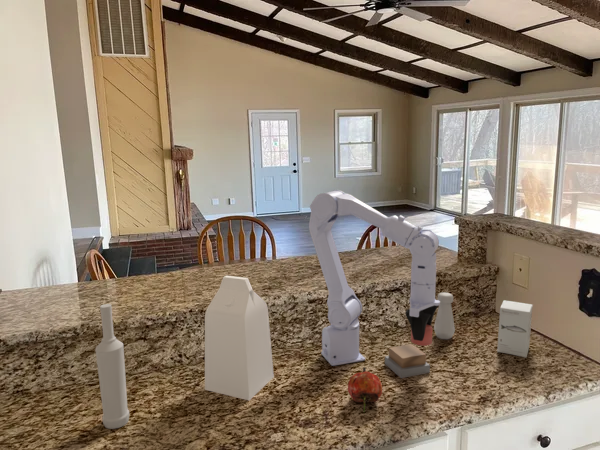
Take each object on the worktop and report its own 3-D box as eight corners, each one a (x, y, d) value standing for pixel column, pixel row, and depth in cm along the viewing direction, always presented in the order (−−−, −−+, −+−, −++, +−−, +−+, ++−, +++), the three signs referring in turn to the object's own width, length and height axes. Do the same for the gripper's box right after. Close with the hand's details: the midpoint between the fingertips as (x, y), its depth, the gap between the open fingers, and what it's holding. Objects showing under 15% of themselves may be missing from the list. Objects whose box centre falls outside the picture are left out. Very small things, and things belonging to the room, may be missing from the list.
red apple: (383, 420, 96) (387, 376, 103) (377, 406, 92) (381, 360, 98) (349, 418, 99) (354, 374, 106) (341, 403, 94) (347, 359, 101)
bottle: (107, 415, 96) (96, 302, 92) (132, 413, 97) (123, 300, 93) (99, 430, 91) (87, 310, 87) (125, 428, 92) (115, 309, 88)
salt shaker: (455, 341, 129) (457, 297, 127) (434, 340, 131) (435, 296, 128) (453, 333, 135) (454, 291, 133) (432, 332, 136) (434, 290, 134)
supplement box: (496, 352, 122) (498, 307, 120) (500, 342, 128) (503, 299, 126) (527, 358, 118) (530, 311, 116) (530, 347, 125) (533, 303, 122)
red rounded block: (418, 346, 108) (418, 332, 108) (406, 338, 113) (407, 324, 112) (436, 343, 110) (436, 329, 109) (424, 335, 114) (424, 322, 114)
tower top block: (402, 368, 110) (402, 358, 110) (388, 357, 116) (389, 347, 116) (425, 363, 112) (425, 354, 112) (411, 353, 118) (411, 343, 118)
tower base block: (400, 380, 110) (401, 370, 109) (384, 365, 117) (384, 356, 117) (429, 374, 112) (429, 365, 112) (412, 360, 120) (412, 351, 119)
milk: (273, 376, 111) (270, 273, 107) (249, 400, 101) (244, 287, 97) (232, 367, 116) (227, 268, 112) (204, 389, 106) (198, 281, 102)
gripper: (432, 292, 101) (430, 350, 103) (447, 276, 113) (445, 328, 115) (401, 288, 104) (399, 344, 106) (418, 272, 117) (417, 323, 119)
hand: (421, 335), depth 111 cm, fingers closed on red rounded block, 5 cm apart
